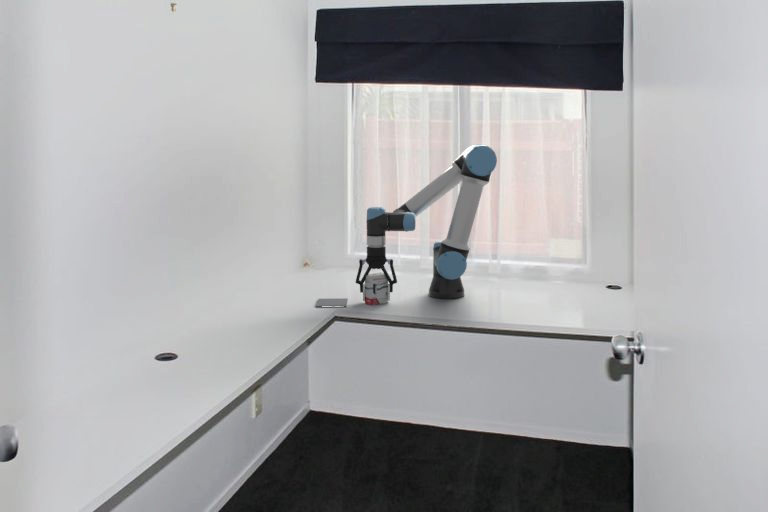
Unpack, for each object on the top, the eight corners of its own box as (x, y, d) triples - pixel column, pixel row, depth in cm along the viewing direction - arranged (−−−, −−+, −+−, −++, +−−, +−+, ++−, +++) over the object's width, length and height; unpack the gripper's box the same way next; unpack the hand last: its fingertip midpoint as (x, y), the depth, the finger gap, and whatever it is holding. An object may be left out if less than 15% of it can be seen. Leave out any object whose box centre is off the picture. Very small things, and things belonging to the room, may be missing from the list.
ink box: (371, 305, 246) (370, 276, 243) (364, 303, 250) (364, 274, 248) (388, 302, 250) (388, 274, 248) (381, 300, 254) (381, 272, 252)
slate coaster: (347, 299, 255) (347, 298, 255) (346, 307, 243) (346, 305, 243) (318, 300, 255) (318, 298, 255) (315, 307, 243) (315, 306, 243)
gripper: (403, 244, 250) (403, 297, 253) (349, 244, 249) (349, 298, 253) (404, 247, 242) (403, 302, 246) (348, 247, 242) (348, 302, 246)
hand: (376, 300), depth 250 cm, fingers closed on ink box, 9 cm apart
